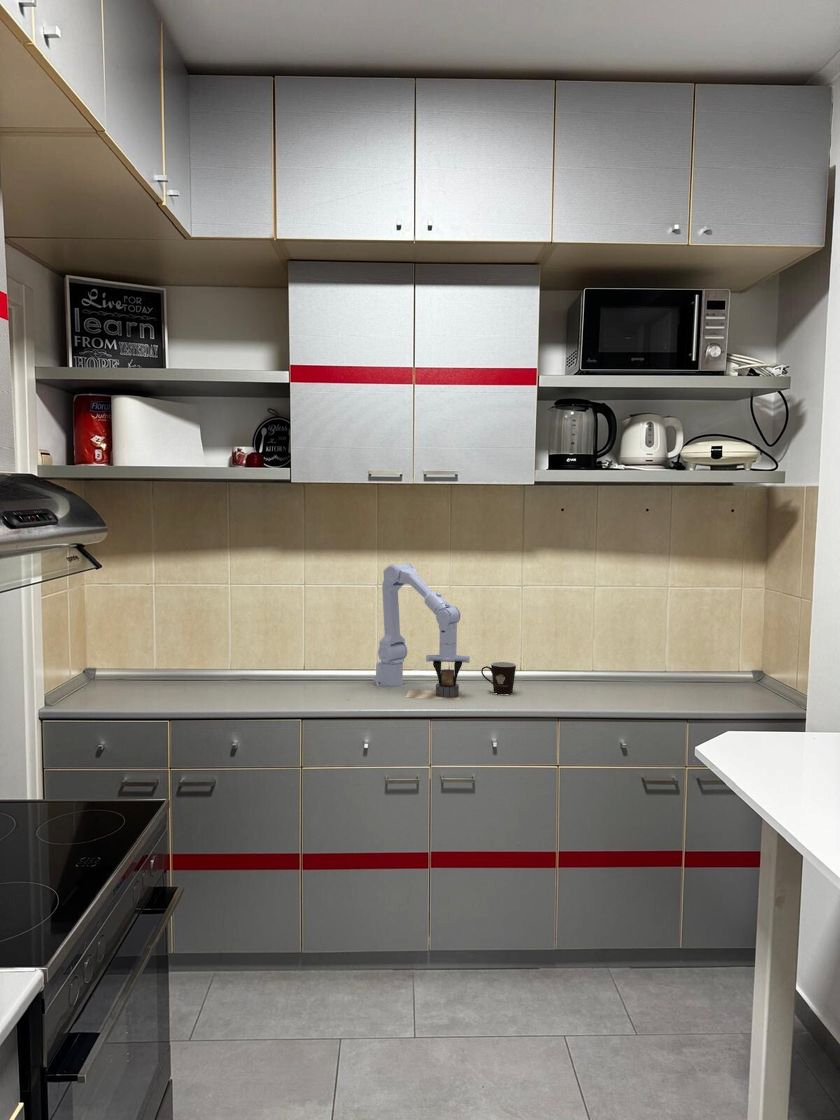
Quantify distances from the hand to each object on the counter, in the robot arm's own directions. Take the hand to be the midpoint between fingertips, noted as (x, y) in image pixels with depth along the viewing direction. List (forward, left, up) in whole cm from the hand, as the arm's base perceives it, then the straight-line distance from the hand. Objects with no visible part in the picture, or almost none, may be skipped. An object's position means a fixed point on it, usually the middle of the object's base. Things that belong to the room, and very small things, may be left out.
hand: (447, 683), depth 272 cm
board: (-4, 0, -5) cm, 7 cm away
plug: (0, 0, -2) cm, 2 cm away
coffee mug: (+18, +11, -5) cm, 22 cm away
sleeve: (0, 0, -5) cm, 5 cm away
